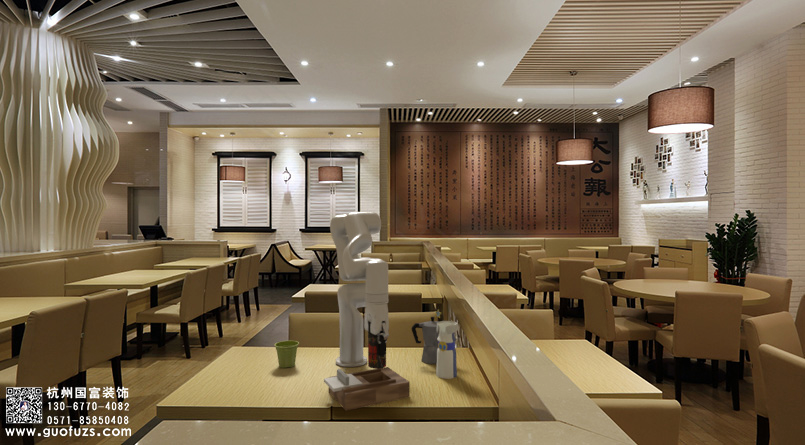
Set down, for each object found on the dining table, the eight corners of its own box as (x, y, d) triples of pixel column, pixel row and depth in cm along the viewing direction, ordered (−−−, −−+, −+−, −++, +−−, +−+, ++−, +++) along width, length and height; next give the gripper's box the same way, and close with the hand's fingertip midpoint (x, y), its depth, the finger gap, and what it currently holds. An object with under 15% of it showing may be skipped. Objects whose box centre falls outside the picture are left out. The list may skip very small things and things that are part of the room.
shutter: (323, 381, 144) (323, 370, 144) (351, 376, 148) (351, 366, 148) (333, 391, 135) (333, 380, 135) (362, 386, 140) (362, 375, 140)
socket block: (328, 392, 148) (328, 374, 148) (387, 380, 158) (387, 364, 158) (345, 410, 134) (345, 391, 134) (409, 397, 144) (409, 379, 144)
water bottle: (452, 380, 159) (453, 311, 158) (431, 376, 163) (431, 308, 163) (462, 374, 166) (462, 307, 165) (441, 369, 170) (442, 304, 170)
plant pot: (269, 367, 172) (269, 345, 172) (284, 360, 180) (284, 339, 180) (289, 371, 168) (289, 348, 168) (303, 363, 177) (303, 341, 177)
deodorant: (368, 363, 150) (368, 318, 150) (385, 362, 150) (385, 318, 150) (368, 368, 144) (368, 322, 144) (386, 368, 144) (386, 322, 144)
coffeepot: (444, 356, 187) (444, 313, 187) (451, 363, 178) (451, 318, 178) (408, 358, 184) (408, 315, 183) (414, 365, 174) (414, 320, 174)
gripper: (356, 295, 153) (356, 347, 153) (377, 303, 138) (377, 361, 138) (376, 293, 156) (376, 344, 156) (399, 301, 141) (399, 357, 141)
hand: (377, 351), depth 147 cm, fingers closed on deodorant, 5 cm apart
